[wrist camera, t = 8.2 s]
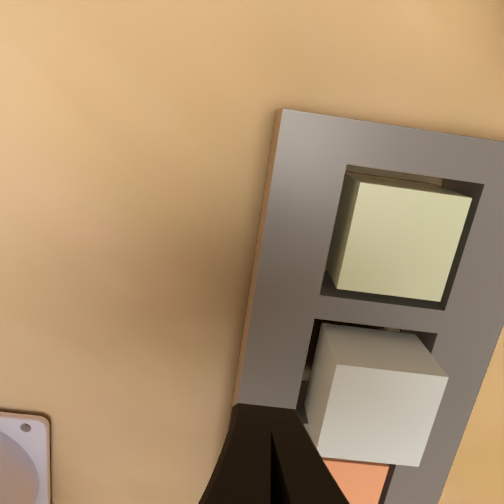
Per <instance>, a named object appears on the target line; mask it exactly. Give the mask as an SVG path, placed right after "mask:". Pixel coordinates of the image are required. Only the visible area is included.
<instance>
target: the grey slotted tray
mask: <svg viewBox="0 0 504 504" xmlns="http://www.w3.org/2000/svg"><path fill="white" fill-rule="evenodd" d="M347 164H348V165H355V166H362V167H369V168H376V169H383V170H389V171H396V172H403V173H410V174H417V175H424V176H431V177H438V178H444V182H443V185H442V187H443V188H446V189H449V190H452V191H454V192H457V193H460V194H463V195H465V196H468V197H471V198H472V201H471V204H470V207H469V210H468V214H467V217H466V220H465V223H464V226H463V230H462V233H461V236H460V239H459V243H458V246H457V249H456V252H455V256H454V259H453V262H452V265H451V269H450V272H449V275H448V278H447V281H446V285H445V288H444V291H443V294H442V298H441V301H440V302H438V301H430V300H422V299H414V298H406V297H398V296H390V295H382V294H374V293H366V292H358V291H350V290H343V289H337V288H336V286H335V284H334V282H333V281H332V279H331V277H330V275H329V273H328V271H327V270H325V266H326V261H327V257H328V252H329V247H330V242H331V238H332V233H333V228H334V223H335V218H336V214H337V209H338V204H339V199H340V194H341V190H342V185H343V180H344V175H345V171H346V166H347ZM314 319H323V320H331V321H339V322H348V323H356V324H364V325H372V326H381V327H389V328H397V329H402V330H401V332H402V333H410V334H416V335H417V337H418V338H419V339H420V341H421V342H422V343H423V345H424V346H425V347H426V348H427V350H428V351H429V352H430V354H431V355H432V356H433V357H434V359H435V360H436V361H437V363H438V364H439V365H440V366H441V368H442V369H443V370H444V372H445V373H446V374H447V376H448V377H449V378H448V381H447V384H446V387H445V390H444V393H443V396H442V399H441V402H440V405H439V408H438V411H437V414H436V417H435V420H434V423H433V426H432V429H431V432H430V435H429V438H428V441H427V444H426V447H425V450H424V452H423V455H422V458H421V461H420V464H419V467H415V466H406V465H396V464H388V465H389V469H388V472H387V476H386V479H385V482H384V485H383V488H382V492H381V495H380V498H379V501H378V504H438V502H439V499H440V496H441V493H442V491H443V488H444V485H445V483H446V480H447V477H448V474H449V472H450V469H451V466H452V464H453V461H454V458H455V455H456V453H457V450H458V447H459V444H460V442H461V439H462V436H463V434H464V431H465V428H466V425H467V423H468V420H469V417H470V415H471V412H472V409H473V406H474V404H475V401H476V398H477V396H478V393H479V390H480V387H481V385H482V382H483V379H484V377H485V374H486V371H487V368H488V366H489V363H490V360H491V358H492V355H493V352H494V349H495V347H496V344H497V341H498V338H499V336H500V333H501V330H502V328H503V325H504V142H503V141H496V140H490V139H483V138H476V137H470V136H463V135H456V134H450V133H443V132H436V131H430V130H423V129H416V128H410V127H403V126H396V125H390V124H383V123H376V122H370V121H363V120H356V119H350V118H343V117H337V116H330V115H323V114H317V113H310V112H303V111H297V110H290V109H283V108H282V109H276V116H275V122H274V129H273V136H272V142H271V149H270V156H269V162H268V169H267V175H266V182H265V189H264V195H263V202H262V209H261V215H260V222H259V228H258V235H257V242H256V248H255V255H254V262H253V268H252V275H251V281H250V288H249V295H248V301H247V308H246V315H245V321H244V328H243V334H242V341H241V348H240V354H239V361H238V368H237V374H236V381H235V387H234V394H233V401H232V407H233V406H234V405H236V404H237V403H243V404H252V405H261V406H270V407H280V408H289V409H295V411H296V412H297V413H298V415H299V417H300V418H301V420H302V422H303V424H304V426H305V428H306V430H307V432H308V434H309V436H310V438H311V434H310V429H309V424H308V419H307V414H306V410H305V405H304V402H305V397H306V393H307V388H308V384H309V383H308V382H301V381H302V376H303V372H304V367H305V362H306V357H307V352H308V348H309V343H310V338H311V333H312V329H313V324H314ZM232 407H231V411H232ZM230 417H231V414H230ZM229 424H230V421H229ZM228 430H229V427H228Z"/></svg>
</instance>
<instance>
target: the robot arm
mask: <svg viewBox="0 0 504 504" xmlns="http://www.w3.org/2000/svg"><path fill="white" fill-rule="evenodd" d="M25 423H26V424H29V425H30V426H27V425H26V424H25ZM0 504H50V430H49V422H48V420H47V419H46V418H44V417H42V416H37V415H27V414H17V413H8V412H0ZM198 504H350V503H349V502H348V500H347V498H346V497H345V495H344V494H343V492H342V490H341V489H340V487H339V486H338V484H337V482H336V481H335V479H334V478H333V476H332V474H331V473H330V471H329V469H328V468H327V466H326V464H325V463H324V461H323V459H322V457H321V456H320V454H319V452H318V450H317V448H316V447H315V445H314V443H313V441H312V439H311V438H310V436H309V434H308V432H307V430H306V428H305V426H304V424H303V422H302V420H301V418H300V417H299V415H298V413H297V412H296V411H295V409H289V408H280V407H270V406H261V405H252V404H243V403H237V404H236V405H234V406H233V407H232V411H231V417H230V424H229V430H228V433H227V436H226V439H225V442H224V445H223V448H222V451H221V454H220V456H219V459H218V461H217V464H216V466H215V468H214V471H213V473H212V476H211V478H210V480H209V483H208V485H207V487H206V489H205V491H204V493H203V495H202V497H201V499H200V501H199V503H198Z"/></svg>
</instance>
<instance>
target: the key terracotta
mask: <svg viewBox="0 0 504 504" xmlns="http://www.w3.org/2000/svg"><path fill="white" fill-rule="evenodd" d="M322 459H323V461H324V463H325V464H326V466H327V468H328V469H329V471H330V473H331V474H332V476H333V478H334V479H335V481H336V482H337V484H338V486H339V487H340V489H341V490H342V492H343V494H344V495H345V497H346V498H347V500H348V502H349V503H350V504H378V501H379V498H380V495H381V492H382V488H383V485H384V482H385V479H386V476H387V472H388V469H389V465H388V464H386V463H376V462H366V461H356V460H347V459H337V458H327V457H322Z"/></svg>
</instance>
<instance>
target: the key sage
mask: <svg viewBox="0 0 504 504" xmlns="http://www.w3.org/2000/svg"><path fill="white" fill-rule="evenodd" d="M471 201H472V198H471V197H468V196H465V195H463V194H460V193H457V192H454V191H452V190H449V189H446V188H443V187H441V186H438V185H435V184H429V183H422V182H415V181H408V180H401V179H394V178H387V177H380V176H373V175H366V174H359V173H352V172H345V175H344V180H343V185H342V190H341V194H340V199H339V204H338V209H337V214H336V218H335V223H334V228H333V233H332V238H331V242H330V247H329V252H328V257H327V261H326V266H325V267H326V269H327V271H328V273H329V275H330V277H331V279H332V281H333V282H334V284H335V286H336V288H337V289H343V290H350V291H358V292H366V293H374V294H382V295H390V296H398V297H406V298H414V299H422V300H430V301H438V302H440V301H441V298H442V294H443V291H444V288H445V285H446V281H447V278H448V275H449V272H450V269H451V265H452V262H453V259H454V256H455V252H456V249H457V246H458V243H459V239H460V236H461V233H462V230H463V226H464V223H465V220H466V217H467V214H468V210H469V207H470V204H471Z"/></svg>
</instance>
